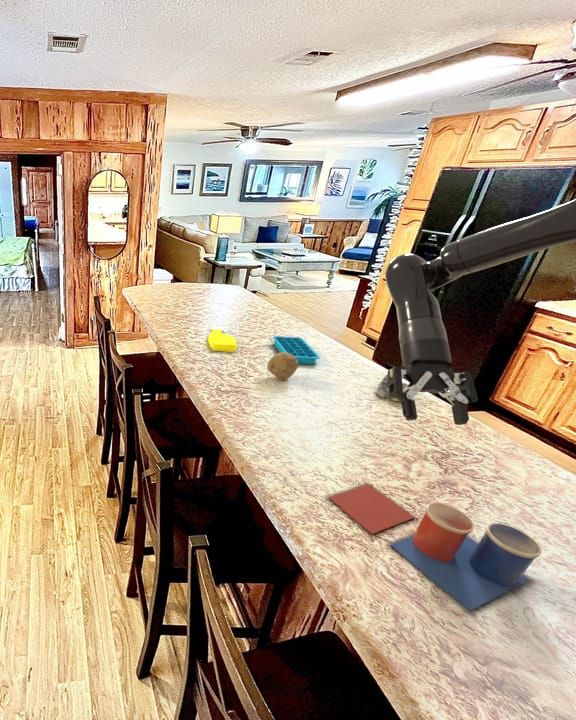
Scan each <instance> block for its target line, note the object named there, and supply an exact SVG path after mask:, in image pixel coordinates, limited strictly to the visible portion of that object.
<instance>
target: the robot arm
mask: <svg viewBox="0 0 576 720" xmlns="http://www.w3.org/2000/svg"><path fill="white" fill-rule="evenodd" d="M572 242H576V199H573V200H571V201H568V202H566V203H564V204H560V205H558V206H556V207H553V208H550V209H548V210H547V209H546V210H545V211H542V212H539V213H536V214H533V215H530V216H527V217H523V218H519V219H516V220H513V221H509V222H505V223H502V224H499V225H496V226H493V227H490V228H487V229H484V230H482V231H479V232H476V233H474V234H471V235H468V236H465V237H462V238H461V239H458V240H455V241H452V242H451V243H448V244H446V245H445V246H443V248H442V249H441V250H440V253H439V257H437V258H435V259H433V260H429V261H427V260H426V259H424V258H422V257H421V256H419V255H417V254H413V253H403V254H400V255H398V256H396V257H394V258H393V259H391V261H390V262H389V263H388V265H387V266H386V269H385V283H386V286H387V290H388V293H389V294H390V296H391V299H392V301H393V304H394V305H395V309H396V318H397V324H398V341H399V347H400V354H401V361H402V366H403V368H404V369H402V368H401V366H395V367H393V368H390V369H389V370H388V371H387V374H386V375H388V390H389V396H390V397H391V398H396V399H399V400H400V401H401V402H400V401H399V402H400V403H401V411H402V416H403V418H405V420H406V421H410V422H413V421H415V420H417V419H418V413H417V405H416V400H415V399H414V398H415V396H416V395H417V394H418V393H431V394H438V395H440V396H441V397H442V398H444V399H446V400H447V401H448V402H449V403H450V404H451V405H452V406H451V407H450V408H451V412H452V417H453V423H454V425H455V426H464V425H467V424H468V422H469V421H470V420H469V419H470V417H469V410H468V404H471V403H475V402H478V401H479V397H478V394H477V389H476V386H475V383H474V379H473V374H472V373H471V372H470V371H464V372H454V371H453V369H452V367H451V366H452V355H451V351H450V345H449V340H448V335H447V330H446V327H445V324H444V322H443V319H442V313H441V307H440V303H439V301H438V299H437V297H436V296H435V295H434V294H433V293H432V291H435V290H437V289H439V288H441V287H443V286H445V285H447V284H449V283H451V282H453V281H456V280H457V279H459V278H460V277H462V276H466V275H469V274H472V273H476V272H479V271H483V270H485V269H488V268H489V269H490V268H492V267H495V266H498V265H501V264H504V263H507V262H510V261H513V260H516V259H520V258H523V257H525V256H528V255H532V254H534V253H537V252H541V251H545V250H547V249H550V248H554V247H558V246H560V245H564V244H568V243H572ZM403 378H405V380H407V382H408V383H407V384H408V385H407V387H406V388H405V389H404V392H403V386H402V383H403ZM447 389H448V390H447Z"/></svg>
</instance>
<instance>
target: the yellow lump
mask: <svg viewBox="0 0 576 720" xmlns="http://www.w3.org/2000/svg"><path fill="white" fill-rule="evenodd" d="M210 330H211V332H210V333H209V335H208V337H207V341H208V344H209V347H210V349H211V350H213V351H214V352H227V353H234V352H235V351H236V350H237V347H238V344H237V341H236V339H235V337H234V336H232V335H230V334H226V333H228V331H227V330H228V327H227V326H210ZM223 332H225V333H223Z"/></svg>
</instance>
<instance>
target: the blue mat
mask: <svg viewBox="0 0 576 720" xmlns="http://www.w3.org/2000/svg"><path fill="white" fill-rule="evenodd" d="M478 543H479V542H476V541H475V540H473V538H471V537H469V535H468V536H467V538H466V539H465V541H464V543H463V544H462V546H461V548H460V549H459V551H458V553H457V554H456V556H455V558H454V559H453V560H452V561H450V562H443V561H438V560H435V559H433V558H431V557H429V556H427V555H425V554H424V553H423V552H421V551H420V550H419V549H418V548H417V547H416V546H415V544H414V542H413V535H412V536H409V537H407V538H404V539H402V540H399V541H397V542H395V543H392V544H390V547H392V549H394V550H395V551H396V552H398V553H399V554H400V555H401V556H402V557H403V558H405V559H406V560H407V561H409V563H411V564H412V565H413V566H415V567H416V569H418V570H419V571H421V572H422V573H423V575H426V576H427V577H428V578H429V579H430V581H433V582H434V583H435V584H436V585H437V586H439V587H440V588H441V589H442V590H443V591H444V592H445V593H447V594H448V595H449V596H450V597H451V598H453V599H454V600H455V601H456V602H458V603H459V604H460V605H461V606H463V607H464V608H465V609H466V610H468V611H469V612H471V611H473V610H475V609H477V608H479V607H481V606H483V605H485V604H486V603H489V602H490V601H492V600H494V599H496V598H498V597H500V596H502V595H503V594H505V593H507V592H509V591H511V590H513V589H515V588H517V587H518V586H519V587H520V586H521V585H522V584H525V583H526V582H528V581H530V578H529V577H527V576H525V574H523V575H522V577H521V578H520V579H519V581H518V582H517V583H516V585H514V586H503V585H499V584H496V583H494V582H492V581H490V580H488V579H486V578H485V577H483V576H482V575H481V574H479V573H478V572H477V571H476V570H475V569H474V568H473V567H472V565H471V563H470V560H469V559H470V556H471V555H472V553H473V551H474V550H475V548H476V547H477V545H478Z"/></svg>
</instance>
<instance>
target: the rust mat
mask: <svg viewBox="0 0 576 720" xmlns="http://www.w3.org/2000/svg"><path fill="white" fill-rule="evenodd" d="M328 499H329V500H330V501H331V502H333V504H334V505H336V506H337V507H339V509H341V510H342V511H343V512H344V513H346V515H348V516H349V517H351V518H352V519H353V520H354V521H355V522H356V523H358V524H359V525H360V526H361V527H362V528H364V529H365V530H366V531H367V532H368V533H369V534H370V535H374V534H377V533H379V532H382V531H384V530H387V529H390V528H392V527H395V526H397V525H400V524H402V523H405V522H408V521H411V520H413V519H415V517H414V516H413V515H412V514H411V513H410V512H408V511H406V510H405V509H404V508H402V507H401V506H400V505H398V504H397V503H395V502H394V501H393V500H391V499H390V498H389V497H388V496H386V495H385V494H383V493H381V491H379V490H377V489H376V488H375V487H373V486H372V485H371V484H369V483H368V484H366V485H361V486H359V487H356V488H354V489H350V490H348V491H347V490H346V491H344V492H340V493H338V494H334V495H332V496H329V497H328Z"/></svg>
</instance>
